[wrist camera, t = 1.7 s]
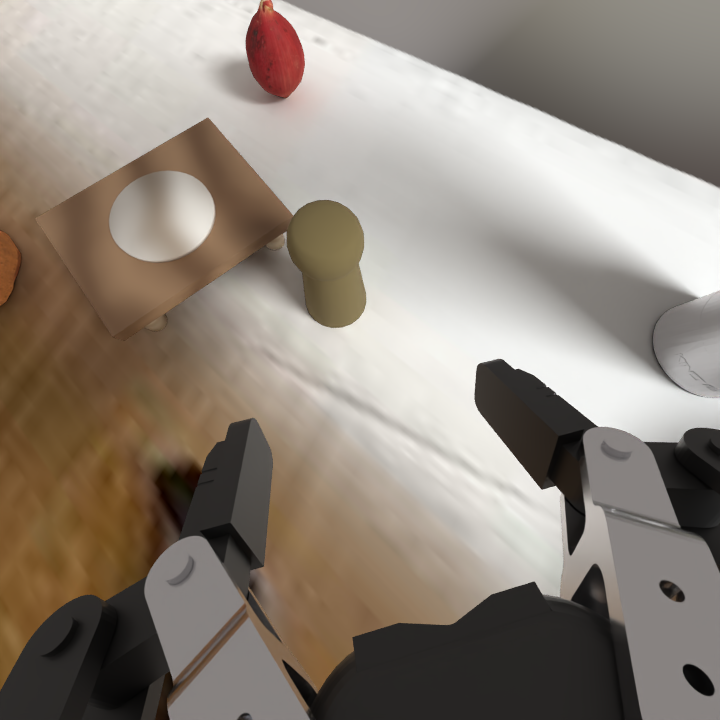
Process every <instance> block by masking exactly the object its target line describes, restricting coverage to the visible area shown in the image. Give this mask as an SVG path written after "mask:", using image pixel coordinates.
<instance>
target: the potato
mask: <svg viewBox="0 0 720 720" xmlns="http://www.w3.org/2000/svg"><path fill="white" fill-rule="evenodd" d="M20 264H21V253H20V252H19V250H18V249H17V247H16V246H15V244H14V243H13V241H12V240H11V238H10V237H9V235H8V234H6V233H4V232H2V231H1V230H0V306H1V305H2V304H3V303H5V302H6V301H7V299H8V297H9V295H10V293H11V292H12V290H13V284H14V281H15V278H16V276H17V274H18V271H19V268H20Z"/></svg>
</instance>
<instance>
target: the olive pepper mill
mask: <svg viewBox="0 0 720 720" xmlns="http://www.w3.org/2000/svg"><path fill="white" fill-rule="evenodd" d="M287 248H288V251H289V254H290V257H291V259H292V261H293V263H294V264H295V265H296V266H297V267H298V269H299V270H300V271H301V272H302V275H303V284H304V292H305V301H306V306H307V309H308V312H309V314H310V315H311V316H312V317H313V319H314V320H315V321H317V322H318V323H320V324H321V325H323V326H327V327H331V328H340V327H344V326H347V325H350V324H352V323H353V322H355V321H356V320H357V319H358V318H359V317H360V316H361V314H362V313H363V311H364V309H365V305H366V292H365V288H364V284H363V280H362V275H361V271H360V267H359V261H360V259H361V256H362V253H363V249H364V234H363V230H362V227H361V225H360V223H359V220H358V218H357V217H356V216H355V215H354V214H353V213H352V211H351V210H350V209H348V208H347V207H345V206H344V205H342V204H340V203H338V202H334V201H330V200H317V201H314V202H311V203H308V204H306V205H305V206H303V207H302V208H300V209H299V210H298V211H297V212H296V214H295V215H294V216H293V217H292V219H291V221H290V223H289V226H288V229H287Z"/></svg>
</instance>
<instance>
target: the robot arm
mask: <svg viewBox="0 0 720 720" xmlns="http://www.w3.org/2000/svg"><path fill="white" fill-rule="evenodd" d="M653 345H654V351H655V354H656V357H657V359H658V362H659V363H660V365H661V367H662V368H663V370H664V371H665V373H666V374H667V375H668V376H669V377H670V378H671V379H672V380H673V381H674V382H675V383H677V384H678V385H679V386H680V387H682V388H684V389H685V390H687V391H689V392H691V393H694V394H696V395H699V396H703V397H710V398H718V397H720V291H717V292H715V293H712V294H709V295H706V296H704V297H701V298H698V299H695V300H693V301H690V302H687V303H684V304H682V305H679V306H676V307H674V308H672V309H670V310H668V311H667V312H666V313H664V314H663V315H662V316H661V317H660V319H659V320H658V322H657V324H656V326H655V329H654V333H653ZM475 403H476V406H477V408H478V410H479V412H480V413H481V415H482V416H483V417H484V418H485V420H486V421H487V422H488V423H489V425H490V426H491V427H492V428H493V430H494V431H495V432H496V433H497V435H498V436H499V437H500V438H501V440H502V441H503V442H504V443H505V445H506V446H507V447H508V448H509V450H510V451H511V452H512V453H513V455H514V456H515V457H516V458H517V460H518V461H519V462H520V463H521V465H522V466H523V467H524V468H525V470H526V471H527V472H528V473H529V474H530V476H531V477H532V478H533V479H534V481H535V482H536V483H537V484H538V486H539V487H540V488H541V489H546V488H549V487H553V486H557V488H558V489H559V490H560V491H561V492H562V493H561V496H560V508H561V524H562V541H563V558H564V561H563V571H562V577H561V588H560V597H554V596H549V595H542V593H541V592H540V590H539V588H538V587H537V585H536V583H535V582H531V583H528V584H525V585H521V586H518V587H515V588H512V589H508V590H505V591H502V592H499V593H495V594H492V595H490V596H489V597H488V598H486V599H485V600H484V601H483V602H481V603H480V604H479V605H477V606H476V607H475V608H474V609H472V610H471V611H470V612H468V613H467V614H466V615H465V616H463V617H462V618H461V619H459V620H458V621H457V622H455V623H454V624H451V625H430V624H408V623H397V624H394V625H391V626H388V627H384V628H381V629H378V630H375V631H371V632H368V633H365V634H362V635H358V636H355V637H353V645H354V651H353V652H352V653H351V654H349V655H348V656H347V657H346V658H345V659H344V660H343V661H342V662H341V663H340V664H339V665H338V666H336V668H335V669H334V670H333V672H332V673H331V674H330V675H329V677H328V678H327V679H326V681H325V682H324V684H323V685H322V687H321V689H320V690H319V691H318V690H317V688H316V687H315V685H314V684H313V682H312V681H311V679H310V677H309V676H308V674H307V673H306V671H305V670H304V669H303V667H302V666H301V664H300V663H299V662H298V660H297V659H296V657H295V656H294V655H293V654H292V652H291V651H290V650H289V648H288V647H287V645H286V644H285V642H284V641H283V639H282V638H281V636H280V635H279V633H278V632H277V630H276V628H275V627H274V625H273V624H272V622H271V621H270V619H269V618H268V616H267V614H266V613H265V611H264V610H263V608H262V607H261V605H260V604H259V602H258V601H257V599H256V597H255V596H254V594H253V593H252V591H251V590H250V588H249V587H248V586H249V578H250V570H253V569H257V568H261V567H264V559H265V547H266V536H267V525H268V513H269V502H270V491H271V479H272V468H273V459H272V453H271V449H270V447H269V445H268V443H267V441H266V438H265V436H264V434H263V432H262V430H261V428H260V426H259V424H258V422H257V420H256V419H255V418H251V419H247V420H243V421H239V422H234V423H231V424H230V426H229V428H228V432H227V435H226V439H225V441H221V442H217V444H216V445H215V446H214V448H213V449H212V450H211V452H210V453H209V454H208V456H207V457H206V460H205V463H204V466H203V469H202V474H201V475H200V478H199V481H198V487H196V490H195V493H194V496H193V499H192V502H191V505H190V508H189V511H188V514H187V517H186V520H185V523H184V526H183V529H182V532H181V535H180V538H179V540H178V542H176V543H174V544H173V545H172V546H170V547H169V548H168V549H167V550H166V551H165V552H164V553H163V554H162V555H161V556H160V557H159V558H158V559H157V561H156V562H155V563H154V565H153V567H152V568H151V570H150V572H149V574H148V576H147V577H145V578H143V579H142V580H140V581H138V582H137V583H135V584H133V585H132V586H130V587H128V588H127V589H125V590H123V591H122V592H120V593H118V594H116V595H115V596H113V597H111V598H110V599H108V600H106V601H103V600H102V599H100V598H98V597H96V596H94V595H84V596H80V597H78V598H76V599H73V600H72V601H70V602H68V603H66V604H65V605H64V606H62V607H61V608H59V609H58V610H57V611H56V612H54V613H53V614H52V615H51V616H50V617H49V618H48V619H47V620H46V621H45V622H44V623H43V624H42V625H41V626H40V627H39V628H38V629H37V631H36V632H35V633H34V634H33V636H32V637H31V638H30V640H29V641H28V643H27V644H26V646H25V648H24V649H23V651H22V653H21V654H20V656H19V658H18V660H17V662H16V664H15V665H14V667H13V669H12V671H11V673H10V674H9V676H8V678H7V680H6V682H5V684H4V685H3V687H2V689H1V691H0V720H155V716H156V712H157V707H158V703H159V699H160V694H161V690H162V686H163V681H164V677H165V674H166V673H167V672H169V671H170V672H171V675H172V678H173V689H172V690H171V691H170V693H169V695H168V698H167V706H168V713H169V717H170V720H720V430H716V429H710V428H694V429H690V430H688V431H686V432H685V434H684V435H683V437H682V438H681V440H680V441H679V443H664V442H642V441H641V440H640V439H638V438H637V437H635V436H633V435H631V434H629V433H627V432H625V431H622V430H619V429H615V428H609V427H598V426H596V425H595V424H594V423H593V422H591V421H590V420H589V419H588V418H586V417H585V416H584V415H583V414H581V413H580V412H579V411H578V410H576V409H575V408H574V407H573V406H571V405H570V404H569V403H568V402H566V401H565V400H564V399H563V398H561V397H560V396H559V395H556V393H555V392H554V391H553V390H551V389H550V388H549V387H546V385H545V384H544V383H543V382H541V381H540V380H539V379H538V378H536V377H535V376H534V375H532V374H529V373H527V372H525V371H522V370H520V369H516V370H515V369H513V368H512V367H511V366H510V365H509V364H507V363H506V362H505V361H504V360H502V359H496V360H492V361H488V362H484V363H480V364H478V366H477V371H476V383H475Z"/></svg>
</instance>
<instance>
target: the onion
mask: <svg viewBox="0 0 720 720" xmlns="http://www.w3.org/2000/svg"><path fill="white" fill-rule="evenodd" d="M246 52H247V57H248V61H249V66H250V69H251V72H252V74H253V76H254V78H255V79H256V81H257V82H258V83H259V84H260V85H261V86H262V88H263V89H264V90H265V91H267V92H269V93H270V94H273V95H276V96H279V97H283V98H287V97H289V95H290V94H291V93H292V92H293V91H294V90H295V89H296V88H297V86H298V85H299V83H300V82H301V80H302V76H303V72H304V66H305V61H304V52H303V49H302V45H301V43H300V40H299V38H298V36H297V34H296V31H295V30H294V28H293V27H292V25H291V24H290V23H289V22H288V21H287V20H286V19H285V18H284V17H283V16H282V15H281V14H279V13H278V12H276V11H274V10H273V3H272V1H271V0H261V2H260V5H259V9H258V11H257V13H256V14H255V15H254V16H253V18H252V20H251V22H250V25H249V28H248V31H247V35H246Z"/></svg>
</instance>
